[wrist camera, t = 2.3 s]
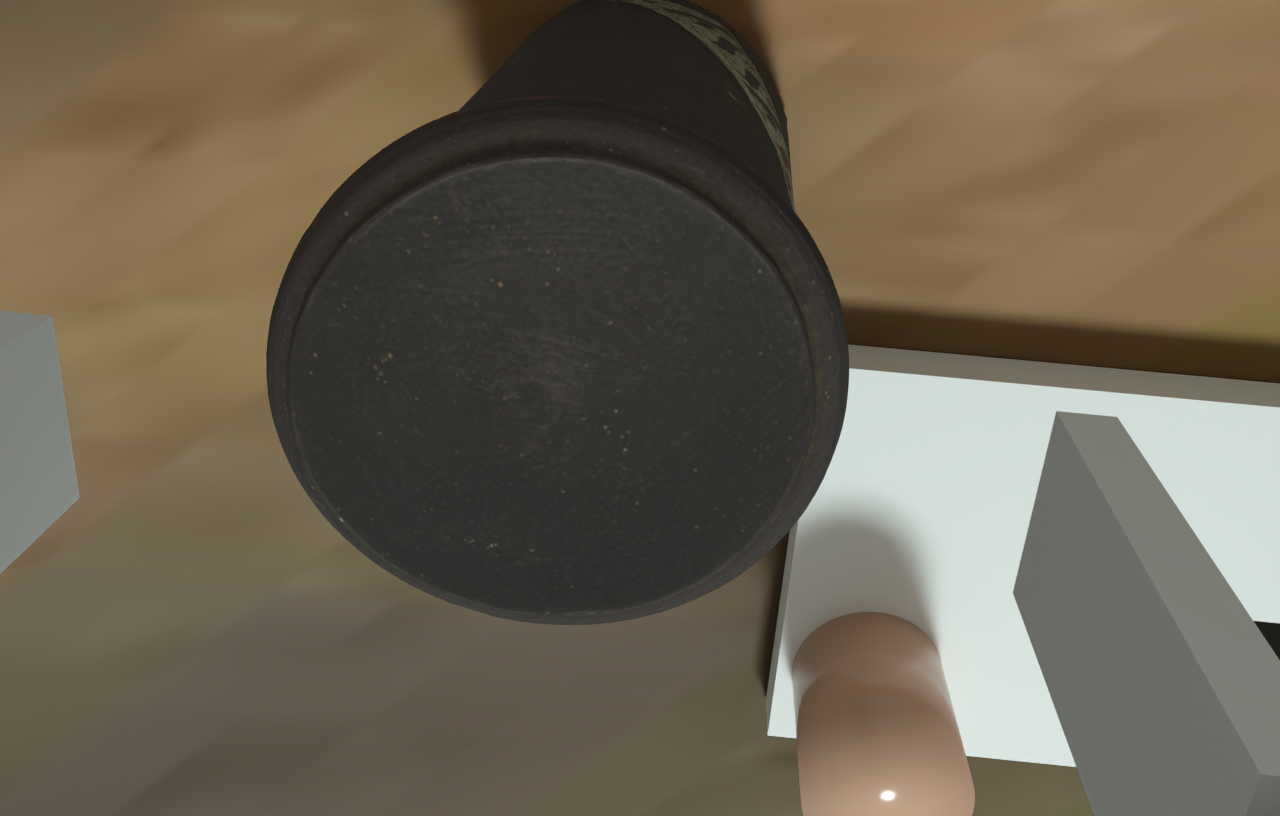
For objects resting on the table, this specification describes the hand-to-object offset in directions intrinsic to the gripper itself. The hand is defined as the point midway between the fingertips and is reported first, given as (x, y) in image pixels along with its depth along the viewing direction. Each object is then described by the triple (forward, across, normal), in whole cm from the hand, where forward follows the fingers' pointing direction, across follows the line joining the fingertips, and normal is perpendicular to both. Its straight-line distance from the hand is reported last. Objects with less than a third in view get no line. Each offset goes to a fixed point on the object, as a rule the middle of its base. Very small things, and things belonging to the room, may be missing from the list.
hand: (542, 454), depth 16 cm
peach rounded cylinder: (+19, +9, -17) cm, 27 cm away
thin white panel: (+21, +16, -13) cm, 30 cm away
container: (+22, 0, 0) cm, 22 cm away
